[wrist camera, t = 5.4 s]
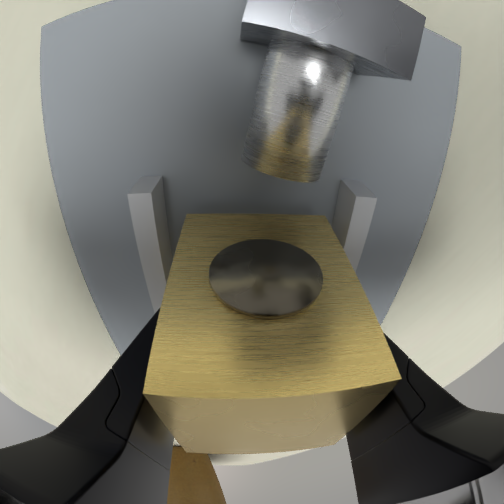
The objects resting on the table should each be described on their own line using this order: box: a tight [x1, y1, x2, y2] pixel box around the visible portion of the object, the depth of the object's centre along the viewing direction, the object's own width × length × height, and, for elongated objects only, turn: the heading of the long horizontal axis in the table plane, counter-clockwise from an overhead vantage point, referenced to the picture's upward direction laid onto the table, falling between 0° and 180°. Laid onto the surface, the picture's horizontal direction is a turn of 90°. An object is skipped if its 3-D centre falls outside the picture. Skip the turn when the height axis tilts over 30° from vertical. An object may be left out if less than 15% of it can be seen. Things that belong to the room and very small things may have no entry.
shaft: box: [240, 0, 426, 183], centre depth 6 cm, size 6×4×3 cm
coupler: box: [143, 214, 402, 454], centre depth 8 cm, size 5×4×6 cm
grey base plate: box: [40, 0, 461, 355], centre depth 11 cm, size 16×20×3 cm
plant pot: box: [167, 446, 226, 504], centre depth 29 cm, size 15×15×16 cm
